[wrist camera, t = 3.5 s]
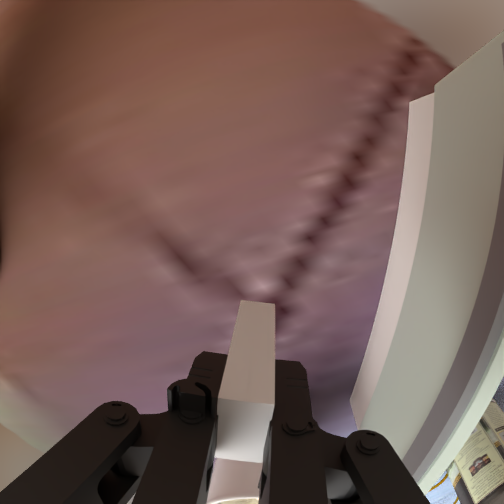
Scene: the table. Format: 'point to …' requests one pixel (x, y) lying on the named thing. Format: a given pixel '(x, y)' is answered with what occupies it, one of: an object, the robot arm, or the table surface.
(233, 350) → the robot arm
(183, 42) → the table surface
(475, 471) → the coffee can
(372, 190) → the table surface
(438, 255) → the pale green rectangular panel
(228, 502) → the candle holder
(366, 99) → the table surface
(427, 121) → the duct channel
